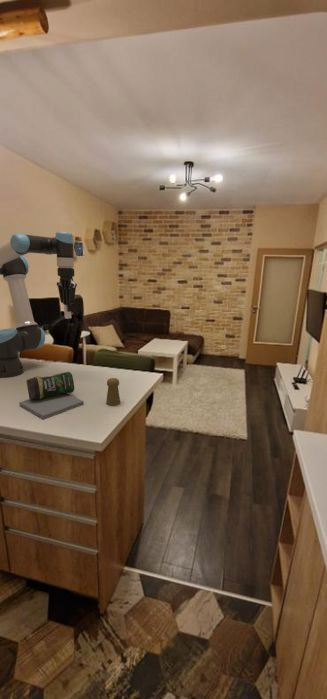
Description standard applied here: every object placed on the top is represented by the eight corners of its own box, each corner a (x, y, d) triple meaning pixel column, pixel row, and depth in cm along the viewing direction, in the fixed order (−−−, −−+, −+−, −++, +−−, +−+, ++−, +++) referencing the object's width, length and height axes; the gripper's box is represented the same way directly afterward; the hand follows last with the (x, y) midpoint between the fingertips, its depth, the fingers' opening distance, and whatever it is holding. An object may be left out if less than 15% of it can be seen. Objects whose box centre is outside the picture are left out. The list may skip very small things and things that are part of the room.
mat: (19, 405, 127) (19, 402, 127) (59, 393, 141) (59, 390, 141) (43, 419, 116) (42, 415, 116) (83, 404, 130) (83, 401, 130)
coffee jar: (76, 391, 135) (32, 401, 124) (70, 392, 141) (27, 401, 130) (72, 370, 136) (28, 377, 124) (66, 371, 142) (23, 378, 131)
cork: (106, 400, 135) (106, 376, 133) (120, 400, 136) (120, 376, 133) (105, 406, 129) (105, 381, 127) (120, 405, 130) (119, 381, 127)
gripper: (81, 268, 141) (82, 319, 147) (64, 267, 149) (66, 316, 155) (67, 267, 135) (69, 320, 141) (50, 267, 143) (53, 317, 149)
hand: (68, 318), depth 148 cm, fingers closed
